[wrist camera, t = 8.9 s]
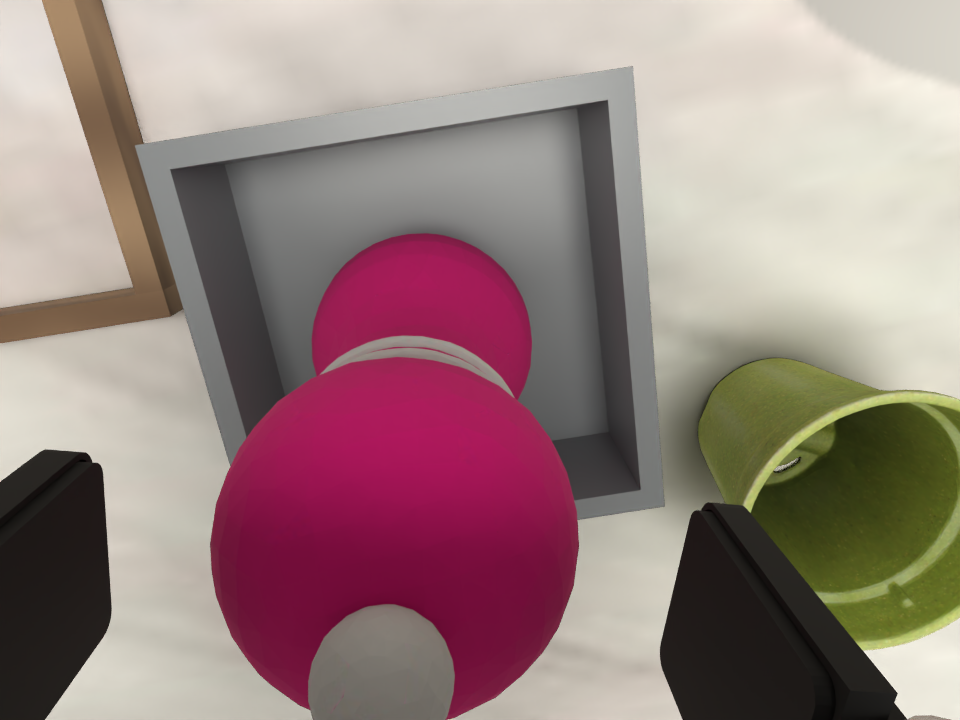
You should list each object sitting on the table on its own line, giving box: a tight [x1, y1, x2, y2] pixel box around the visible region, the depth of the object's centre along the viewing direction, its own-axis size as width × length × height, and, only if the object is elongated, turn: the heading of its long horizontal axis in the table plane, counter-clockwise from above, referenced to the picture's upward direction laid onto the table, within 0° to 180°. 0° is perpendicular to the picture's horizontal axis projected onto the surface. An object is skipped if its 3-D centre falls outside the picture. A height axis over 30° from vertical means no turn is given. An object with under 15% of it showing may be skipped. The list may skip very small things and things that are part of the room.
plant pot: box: [698, 358, 960, 650], centre depth 25 cm, size 9×9×9 cm
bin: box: [135, 66, 665, 520], centre depth 24 cm, size 15×15×6 cm
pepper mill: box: [210, 233, 579, 720], centre depth 17 cm, size 7×7×20 cm
